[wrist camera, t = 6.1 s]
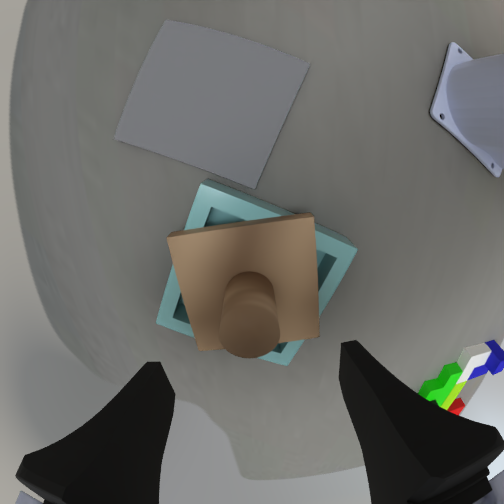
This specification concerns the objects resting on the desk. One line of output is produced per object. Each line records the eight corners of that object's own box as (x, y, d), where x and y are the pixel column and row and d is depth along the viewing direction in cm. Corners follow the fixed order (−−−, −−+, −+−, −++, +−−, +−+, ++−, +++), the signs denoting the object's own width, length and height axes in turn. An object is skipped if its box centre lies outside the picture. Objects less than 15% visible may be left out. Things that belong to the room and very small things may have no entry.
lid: (310, 212, 16) (335, 241, 11) (316, 328, 18) (333, 380, 14) (171, 232, 16) (141, 267, 11) (201, 341, 19) (189, 395, 14)
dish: (345, 236, 19) (357, 249, 16) (283, 345, 22) (287, 366, 20) (207, 178, 17) (200, 183, 15) (164, 304, 21) (155, 323, 18)
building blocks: (421, 353, 24) (439, 380, 20) (492, 337, 24) (510, 357, 20) (378, 433, 29) (386, 456, 25) (447, 413, 29) (457, 432, 25)
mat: (309, 65, 14) (310, 63, 14) (254, 188, 17) (254, 189, 17) (167, 21, 13) (165, 19, 13) (115, 138, 16) (113, 139, 16)
